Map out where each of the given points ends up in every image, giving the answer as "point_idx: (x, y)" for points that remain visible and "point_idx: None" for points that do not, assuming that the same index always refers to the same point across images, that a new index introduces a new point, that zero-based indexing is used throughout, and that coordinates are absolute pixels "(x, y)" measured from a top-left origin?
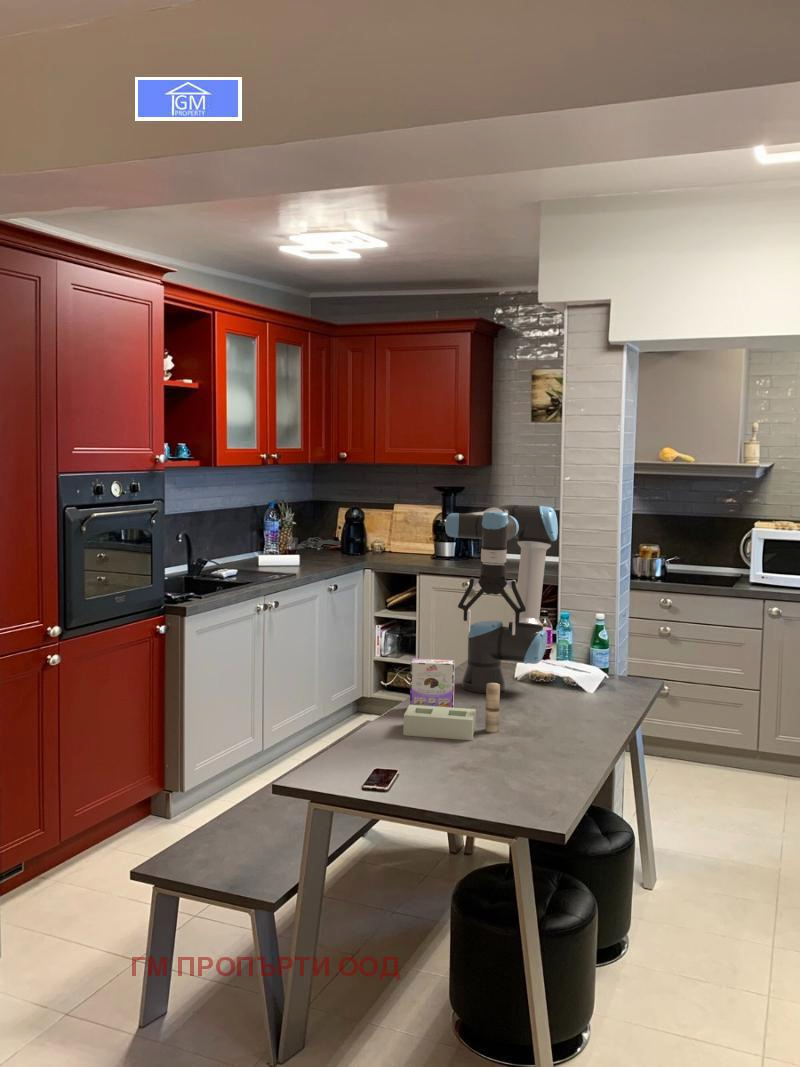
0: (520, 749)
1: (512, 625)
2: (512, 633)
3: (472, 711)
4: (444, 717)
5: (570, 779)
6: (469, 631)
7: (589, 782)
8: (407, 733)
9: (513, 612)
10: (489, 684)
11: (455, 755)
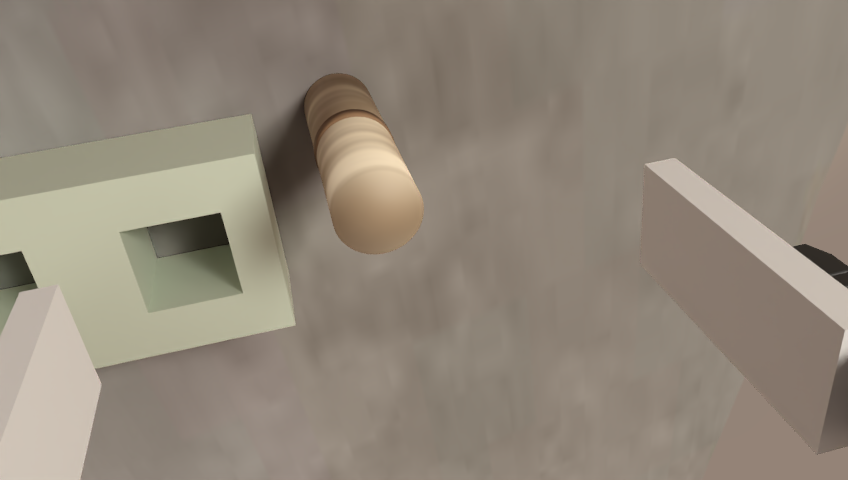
0: (498, 283)
1: (704, 332)
2: (653, 274)
3: (250, 201)
4: (149, 347)
5: (658, 443)
6: (84, 350)
7: (706, 439)
8: None
9: (842, 356)
10: (352, 220)
11: (280, 434)
